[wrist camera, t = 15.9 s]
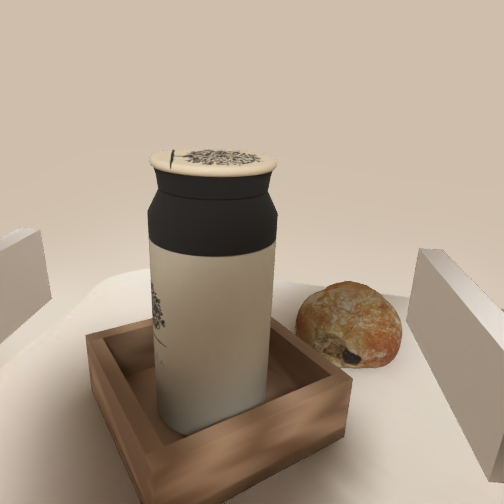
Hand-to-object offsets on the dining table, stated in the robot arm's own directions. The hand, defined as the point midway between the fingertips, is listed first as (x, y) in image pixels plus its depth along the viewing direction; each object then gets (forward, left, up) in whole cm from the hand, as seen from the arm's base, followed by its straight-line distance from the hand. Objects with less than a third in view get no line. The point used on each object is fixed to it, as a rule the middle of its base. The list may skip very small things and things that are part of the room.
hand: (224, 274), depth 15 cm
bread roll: (-22, -13, -17) cm, 30 cm away
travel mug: (-5, -11, -16) cm, 20 cm away
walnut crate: (-5, -11, -17) cm, 21 cm away
